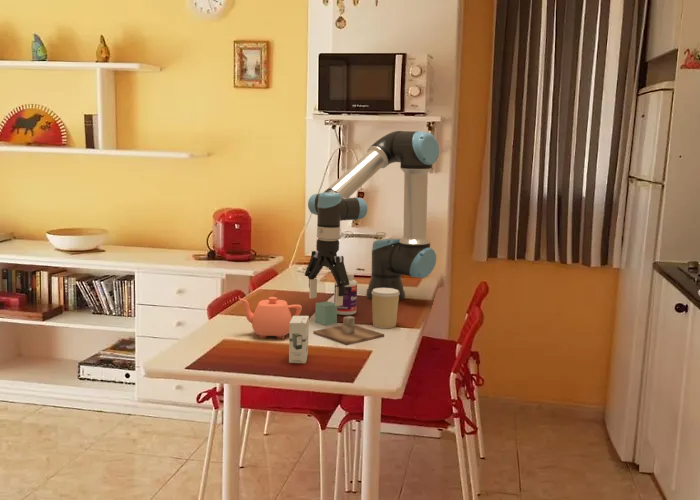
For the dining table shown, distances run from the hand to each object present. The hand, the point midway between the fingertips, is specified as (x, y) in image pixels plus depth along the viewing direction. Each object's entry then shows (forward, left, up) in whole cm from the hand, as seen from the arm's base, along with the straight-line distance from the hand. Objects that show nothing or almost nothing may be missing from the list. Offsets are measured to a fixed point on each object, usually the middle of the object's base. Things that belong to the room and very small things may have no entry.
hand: (325, 301), depth 254 cm
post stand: (+4, +16, -7) cm, 18 cm away
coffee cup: (-14, +14, -8) cm, 21 cm away
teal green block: (0, 0, -7) cm, 7 cm away
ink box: (+32, +26, -8) cm, 42 cm away
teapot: (+24, +1, -8) cm, 25 cm away
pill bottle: (-14, -6, -8) cm, 17 cm away
